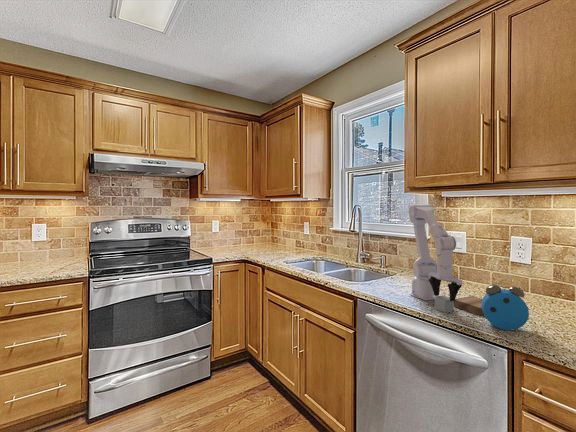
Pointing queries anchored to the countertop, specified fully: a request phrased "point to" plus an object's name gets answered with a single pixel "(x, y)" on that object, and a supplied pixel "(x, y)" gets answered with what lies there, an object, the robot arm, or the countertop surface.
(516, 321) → the alarm clock
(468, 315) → the countertop surface
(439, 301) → the slate cube
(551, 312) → the countertop surface
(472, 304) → the walnut base
